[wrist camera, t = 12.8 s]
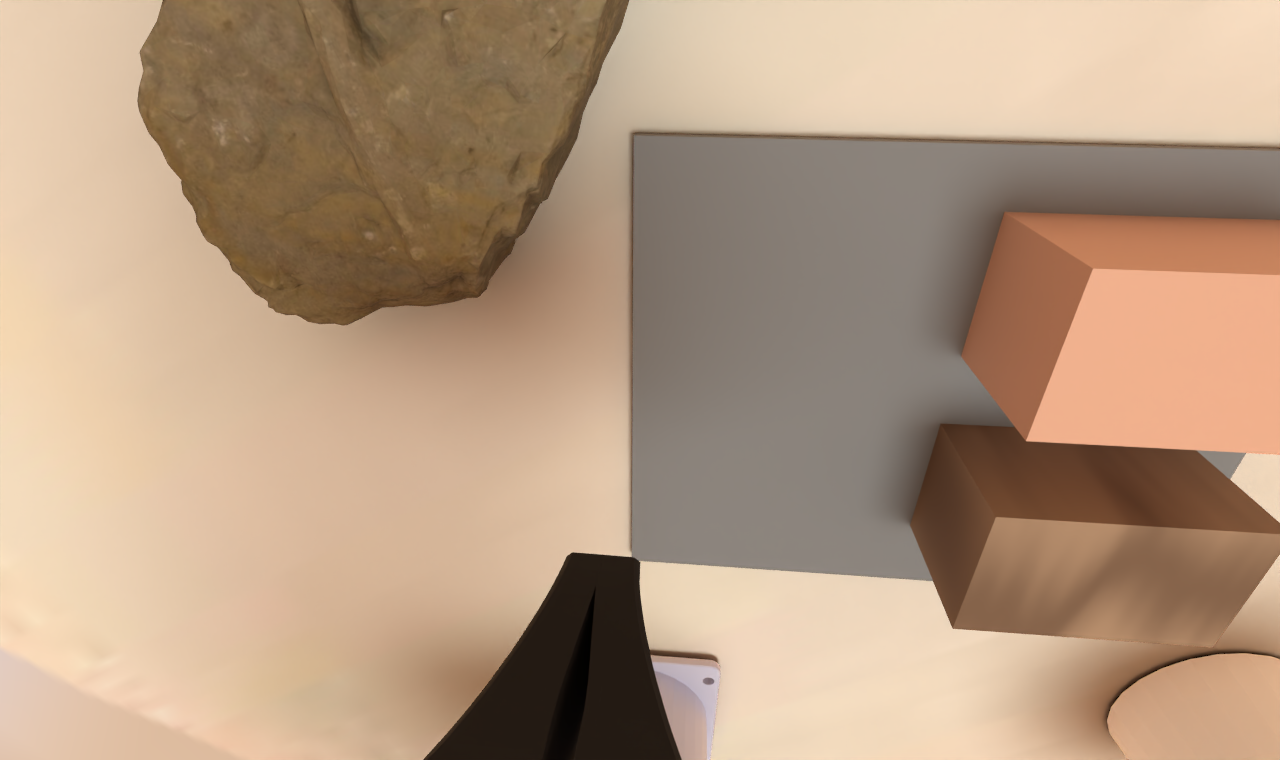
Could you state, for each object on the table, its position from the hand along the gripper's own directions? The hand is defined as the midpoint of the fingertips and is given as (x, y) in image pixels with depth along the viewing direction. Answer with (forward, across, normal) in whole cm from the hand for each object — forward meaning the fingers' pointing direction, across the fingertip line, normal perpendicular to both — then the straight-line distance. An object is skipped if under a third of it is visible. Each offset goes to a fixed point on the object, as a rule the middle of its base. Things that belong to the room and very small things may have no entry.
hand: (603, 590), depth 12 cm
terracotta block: (+7, -10, -3) cm, 13 cm away
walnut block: (+7, -10, +4) cm, 13 cm away
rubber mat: (+10, -10, +1) cm, 14 cm away
